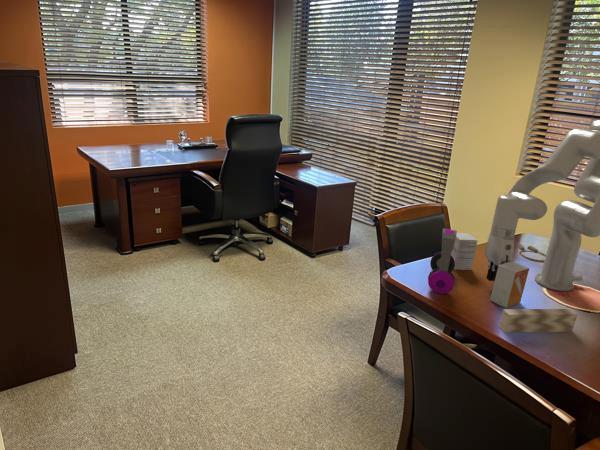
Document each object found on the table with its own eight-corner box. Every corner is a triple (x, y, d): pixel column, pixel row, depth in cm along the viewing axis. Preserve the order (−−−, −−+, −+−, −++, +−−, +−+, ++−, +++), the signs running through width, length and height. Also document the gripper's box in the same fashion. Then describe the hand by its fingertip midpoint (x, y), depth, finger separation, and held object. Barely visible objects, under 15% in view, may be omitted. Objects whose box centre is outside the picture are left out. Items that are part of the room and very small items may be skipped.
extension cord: (548, 252, 196) (549, 248, 195) (548, 265, 182) (549, 260, 182) (517, 246, 201) (518, 242, 200) (516, 258, 187) (517, 253, 187)
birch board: (565, 325, 137) (570, 308, 134) (572, 331, 134) (577, 314, 132) (498, 326, 134) (503, 309, 132) (504, 332, 131) (508, 314, 129)
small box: (506, 308, 144) (515, 272, 140) (489, 300, 149) (497, 264, 145) (520, 303, 149) (530, 267, 144) (503, 294, 154) (512, 260, 149)
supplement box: (446, 261, 178) (451, 232, 174) (463, 262, 179) (469, 232, 174) (453, 269, 171) (459, 239, 167) (471, 270, 172) (478, 239, 167)
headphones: (452, 298, 149) (463, 242, 142) (425, 292, 152) (434, 238, 145) (452, 273, 168) (462, 223, 161) (428, 269, 170) (437, 219, 164)
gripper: (526, 239, 145) (513, 289, 151) (501, 224, 159) (490, 270, 165) (504, 239, 144) (492, 289, 150) (481, 223, 158) (471, 270, 164)
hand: (491, 279), depth 157 cm, fingers closed
